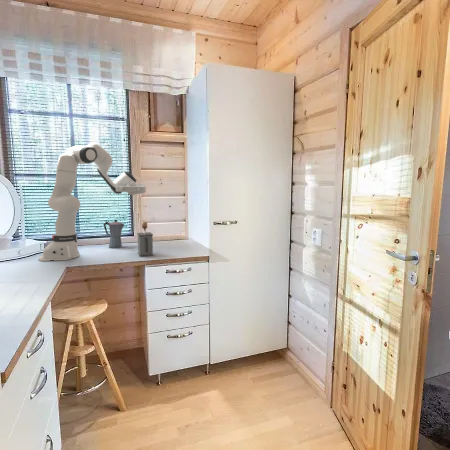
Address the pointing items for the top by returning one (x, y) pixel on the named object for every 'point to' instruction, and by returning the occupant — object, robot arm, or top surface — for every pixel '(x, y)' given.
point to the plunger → (144, 226)
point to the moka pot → (114, 233)
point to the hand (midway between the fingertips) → (129, 189)
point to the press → (145, 244)
